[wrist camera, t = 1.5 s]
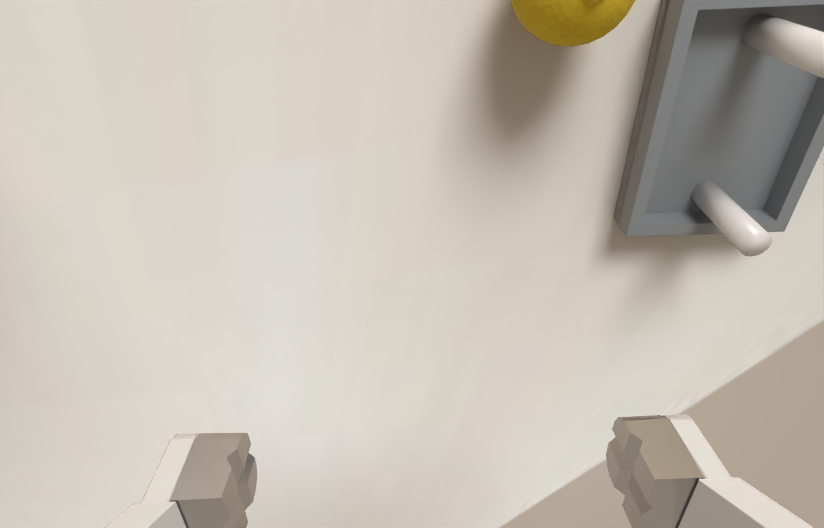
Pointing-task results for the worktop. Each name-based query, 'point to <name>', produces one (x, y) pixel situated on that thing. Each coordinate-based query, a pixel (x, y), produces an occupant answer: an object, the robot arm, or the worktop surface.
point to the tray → (726, 120)
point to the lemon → (570, 19)
